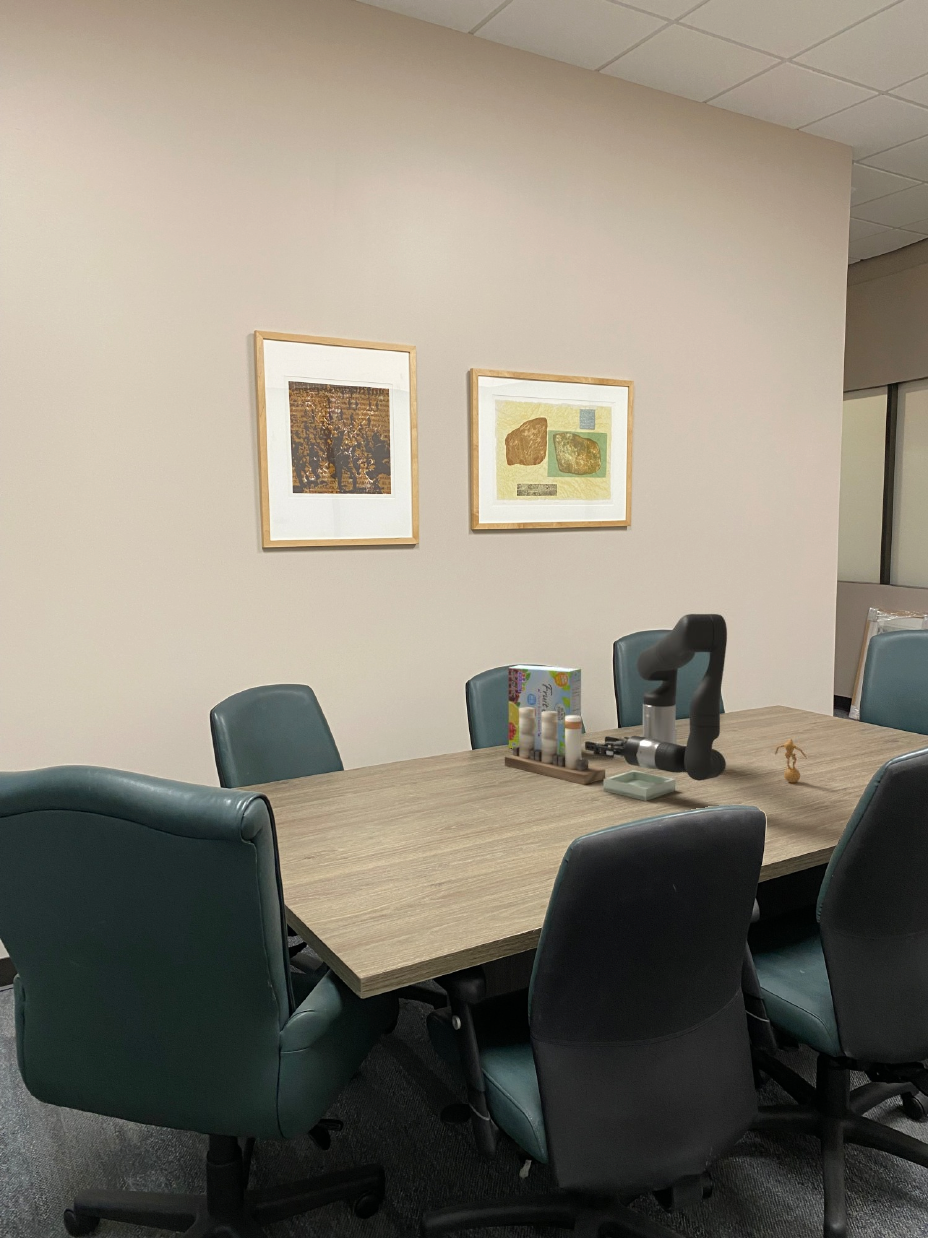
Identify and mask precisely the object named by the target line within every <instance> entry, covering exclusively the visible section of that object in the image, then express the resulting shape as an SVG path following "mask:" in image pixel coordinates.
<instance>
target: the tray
mask: <svg viewBox="0 0 928 1238" xmlns="http://www.w3.org/2000/svg"><path fill="white" fill-rule="evenodd" d="M602 789H603V791H604V792H608V793H610V794H611V793H612V794H616V795H620V796H623V797H627V798H632V799H636V800H641V801H645V802H647V801H650V800H653V799H656V798H658V797H661V796H664V795H667V794H670V793H673V792H676V778H671V777H667V776H662V775H657V774H654V773H649V772H643V771H639V770H635V769H634V770H633V769H632V770H629V771H626V772H623V773H619V774H615V775H613V776H609V777H607V778H606V777H605V779H603V788H602Z"/></svg>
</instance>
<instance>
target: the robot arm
mask: <svg viewBox="0 0 928 1238" xmlns="http://www.w3.org/2000/svg"><path fill="white" fill-rule="evenodd" d="M727 642H728V628H727V622H726V619H725V618H724V616H723V615H722V614H718V613H688V614H685V615H683V616H682V617H680V619H679V620H678V621H677V622H676V624H675V626H674V627H673V628H672V629H671V631H670V632H668V633H667V634H665V635H664V636H663V637H662V638H661V639H660V640H658V641H657V642H655V643H654V644H653V645H652V646H650V647H647V648H644V649H642V650H641V652H640V653H639V655H638V657H637V664H636V669H637V672H638V674H639V676H640V678H642V680H644V681H649V682H650V681H651V682H654V681H655V682H657V681H658V682H659V681H660V682H662V683H661V684H660V685H658V686H657V687H656V688H655V689H652V690H649V691H646V692H645V693H644V694H643V696H642V736H639V735H631V736H630V737H628V736H624V737H620V736H619V737H614V736H605V737H604V743H603V742H602V743H600V742H593V741H590V740H589V741H585V742H584V749H585V750H586V751H590V752H593V753H592V754H593V755H594V756H599V757H604V758H609V759H614V758H615V757H616V758H624V759H625V762H626V763H627V764H629V765H630V766H635V767H639V768H644V769H645V768H646V769H648V770H655V771H656V770H658V771H664V772H669V773H673V774H678V773H686V774H687V775H688V776H689V777H690V778H691V780H695V781H700V782H701V781H705V780H711V779H715V778H718V777H719V776H721V775H722V774H723V773H724V772H725V770H726V766H727V764H726V763H727V762H726V759H725V756H723V754H722V753H721V752H720V751H718V750H717V749H714V748H713V743H714V741H715V740H716V739H718V738H719V737H720V733H721V732H720V731H721V711H720V710H721V707H720V706H721V693H722V682H723V676H724V668H725V660H726V652H727V644H728V643H727ZM696 653H709V662H708V665H707V669H706V671H705V673H704V675H703V677H702V679H701V681H700V683H698V685H697V687H696V689H695V690H694V692H693V694H692V697H691V700H690V703H689V734H688V738H687V741H686V745H681V744H677V734H678V733H677V729H676V711H677V710H676V708H677V707H676V701H677V686H678V685H677V683H678V673H679V672H678V670H679V669H681V668H683V667H684V666H686V665H687V664H689V663H691V661H692V660H693V658H694V657H695V655H696Z"/></svg>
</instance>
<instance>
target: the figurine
mask: <svg viewBox="0 0 928 1238" xmlns="http://www.w3.org/2000/svg"><path fill="white" fill-rule="evenodd" d="M783 747H784V748H785V751H786V752H784V755H785V758H786V766H787V768H786V769H785V771H784V775H783V776H784V779H785V780H786V782H789V783H790V784H793V783H794V784H795V783H797V782H799V780H800V779H801V773H800V771H799V770H798V769H797V767H796V766H795V765H796V762H797V760H798V759H797V756H796V753H794V750H797V751H799V752H801V754H802V755H803V756H804V757H805V760H808V758H807V755H806V754H805V753H804V752H803V750H802V749H801V748H799V747H798V746H796V745H795V744H794V743H793V738H790V739H789V740H788V741H787V742H785V743H782V744H780V745H777V746H776V749H775V752H774V755H778V754H779V751H778V750H779V749H780V748H783ZM790 759H792V760H793V762H792V767H791V766H790Z"/></svg>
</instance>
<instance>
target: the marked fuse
mask: <svg viewBox="0 0 928 1238" xmlns="http://www.w3.org/2000/svg"><path fill="white" fill-rule="evenodd" d="M582 718H583V717H582V715H581V716H578V715H568V716H565V768H567V769H577V761H578V760H582V728H583V720H582Z"/></svg>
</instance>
